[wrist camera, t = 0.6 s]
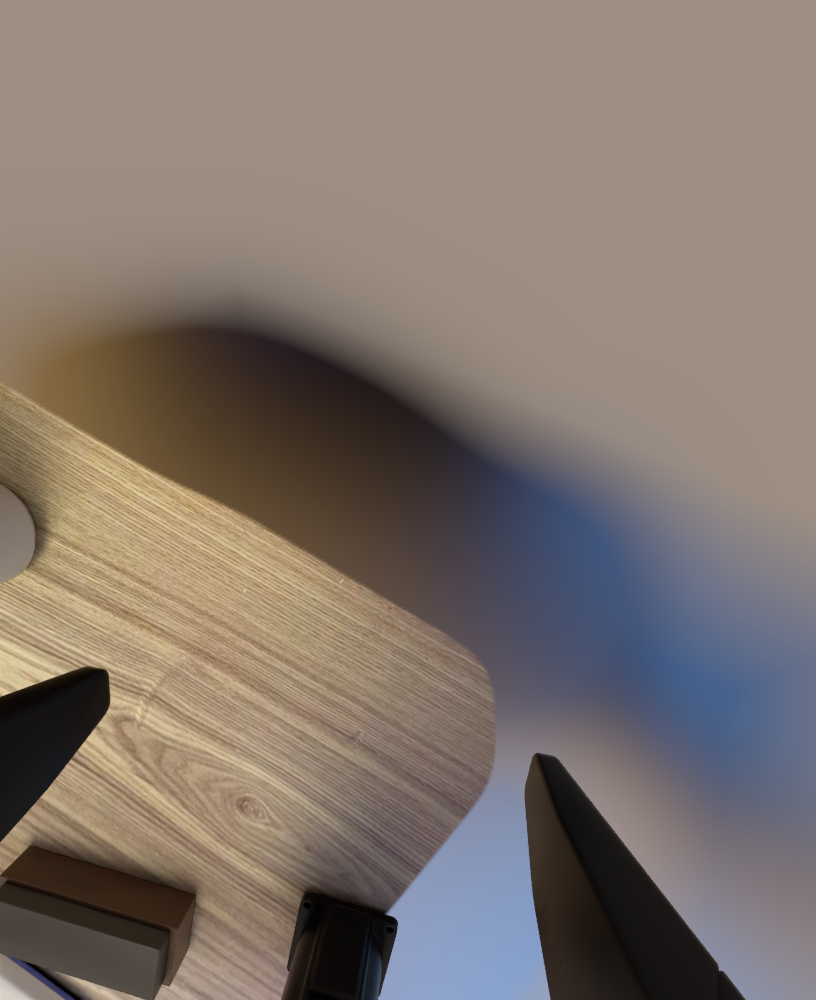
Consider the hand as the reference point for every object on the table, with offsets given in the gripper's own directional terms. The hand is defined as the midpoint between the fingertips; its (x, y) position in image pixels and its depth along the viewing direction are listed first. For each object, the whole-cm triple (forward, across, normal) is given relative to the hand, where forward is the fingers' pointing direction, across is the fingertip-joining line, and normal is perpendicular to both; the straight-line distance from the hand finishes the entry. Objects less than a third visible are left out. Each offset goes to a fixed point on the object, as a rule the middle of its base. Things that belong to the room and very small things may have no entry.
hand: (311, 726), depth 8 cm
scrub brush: (+12, +17, +30) cm, 37 cm away
